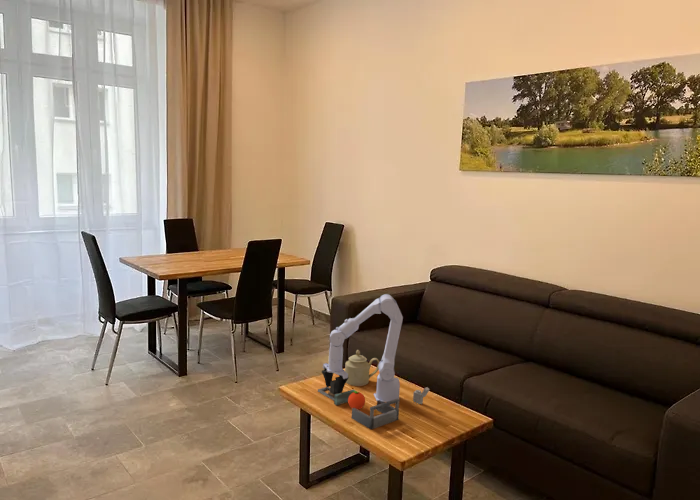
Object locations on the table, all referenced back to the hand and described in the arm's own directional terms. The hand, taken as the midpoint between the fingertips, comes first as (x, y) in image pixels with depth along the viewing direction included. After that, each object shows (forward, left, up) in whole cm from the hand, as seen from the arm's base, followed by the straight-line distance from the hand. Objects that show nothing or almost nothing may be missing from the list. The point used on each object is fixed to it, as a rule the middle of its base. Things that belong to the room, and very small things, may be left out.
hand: (334, 389), depth 229 cm
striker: (-2, +3, -3) cm, 4 cm away
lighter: (-35, +9, -3) cm, 37 cm away
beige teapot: (-14, -17, -3) cm, 22 cm away
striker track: (0, -1, -3) cm, 3 cm away
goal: (-13, +21, -3) cm, 25 cm away
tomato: (-7, +12, -3) cm, 14 cm away
